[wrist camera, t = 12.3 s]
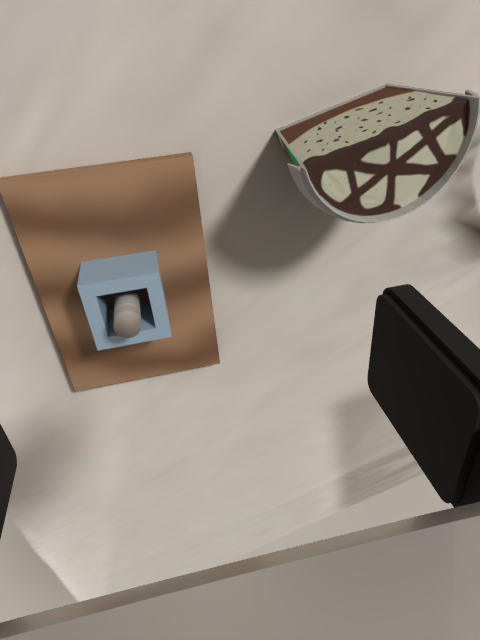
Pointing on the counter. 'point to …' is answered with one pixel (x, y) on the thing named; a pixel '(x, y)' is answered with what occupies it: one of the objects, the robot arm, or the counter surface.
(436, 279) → the counter surface
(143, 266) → the collar
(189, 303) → the shaft stand
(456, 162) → the food container
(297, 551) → the robot arm
